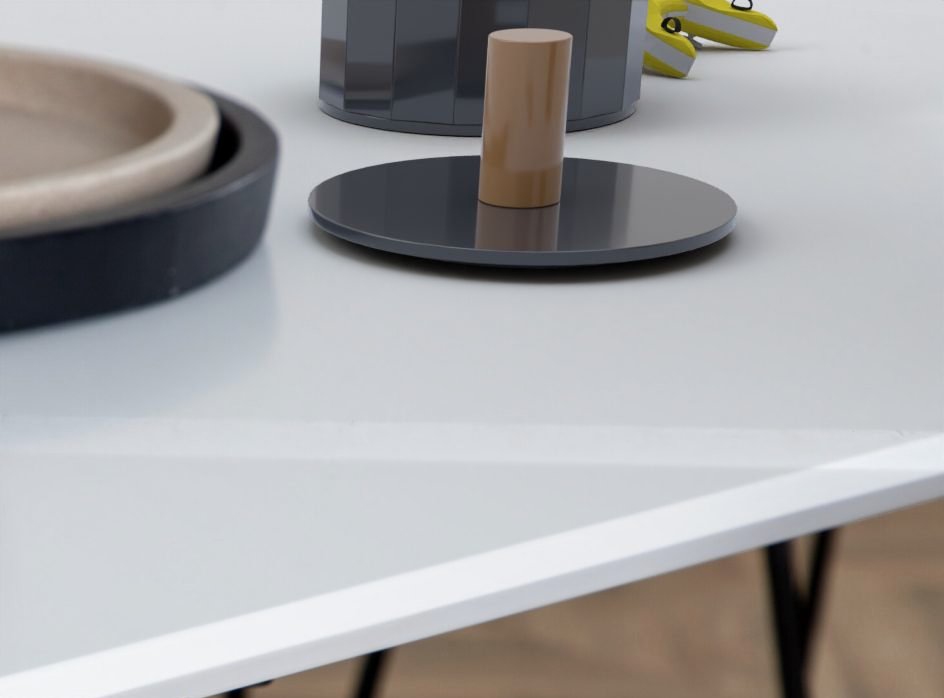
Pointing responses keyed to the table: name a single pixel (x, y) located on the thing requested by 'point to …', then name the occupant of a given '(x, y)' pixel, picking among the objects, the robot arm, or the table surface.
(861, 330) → the table surface
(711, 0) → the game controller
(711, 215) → the tin lid
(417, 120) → the tin
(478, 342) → the table surface
